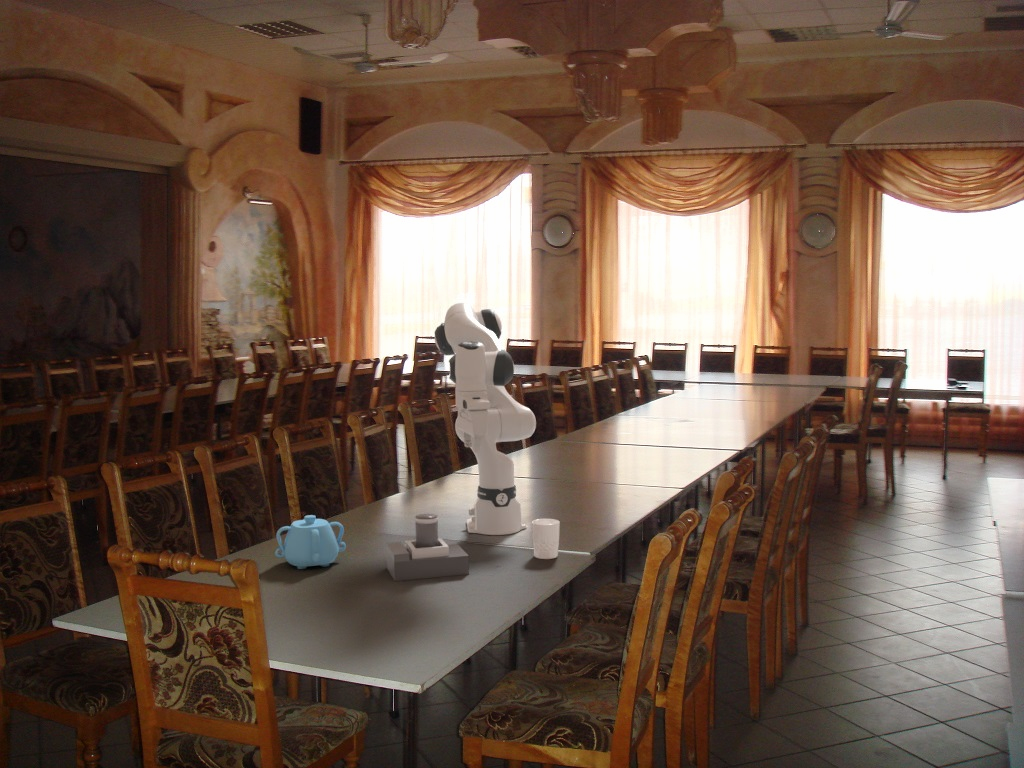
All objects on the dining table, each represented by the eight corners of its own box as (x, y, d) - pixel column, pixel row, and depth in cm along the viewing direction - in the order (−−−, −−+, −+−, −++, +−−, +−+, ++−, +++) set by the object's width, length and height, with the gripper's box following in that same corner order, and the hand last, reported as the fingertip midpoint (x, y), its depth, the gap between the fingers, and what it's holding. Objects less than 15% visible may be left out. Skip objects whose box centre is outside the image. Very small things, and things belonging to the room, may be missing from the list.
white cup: (558, 552, 292) (558, 518, 291) (561, 559, 285) (560, 524, 284) (531, 552, 292) (531, 518, 291) (532, 560, 284) (532, 525, 283)
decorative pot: (269, 567, 281) (267, 518, 280) (309, 553, 295) (307, 507, 294) (313, 575, 273) (311, 525, 272) (352, 560, 287) (351, 513, 285)
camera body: (386, 567, 278) (386, 541, 278) (458, 561, 284) (457, 535, 283) (394, 580, 266) (394, 552, 265) (469, 574, 271) (468, 546, 271)
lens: (413, 550, 277) (413, 514, 276) (435, 549, 278) (435, 513, 277) (417, 556, 271) (417, 519, 270) (440, 554, 272) (439, 517, 272)
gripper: (452, 397, 291) (452, 444, 293) (468, 404, 272) (469, 455, 273) (473, 396, 293) (474, 443, 294) (491, 403, 274) (492, 454, 275)
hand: (472, 449), depth 284 cm, fingers open, 8 cm apart
